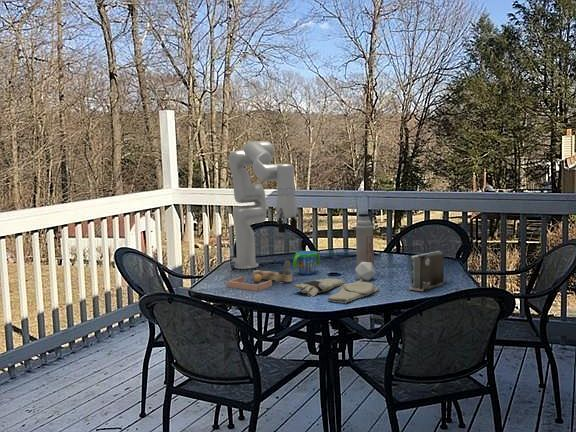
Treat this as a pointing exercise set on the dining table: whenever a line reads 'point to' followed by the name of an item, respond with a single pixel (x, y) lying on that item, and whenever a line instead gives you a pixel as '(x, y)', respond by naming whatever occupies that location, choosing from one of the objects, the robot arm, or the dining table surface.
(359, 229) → the thermos bottle
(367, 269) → the die
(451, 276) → the dining table surface
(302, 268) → the snack cup
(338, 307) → the dining table surface
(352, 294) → the pair of gloves
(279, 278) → the lever
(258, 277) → the ball
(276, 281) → the pivot base
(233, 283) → the open frame
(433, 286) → the radio
